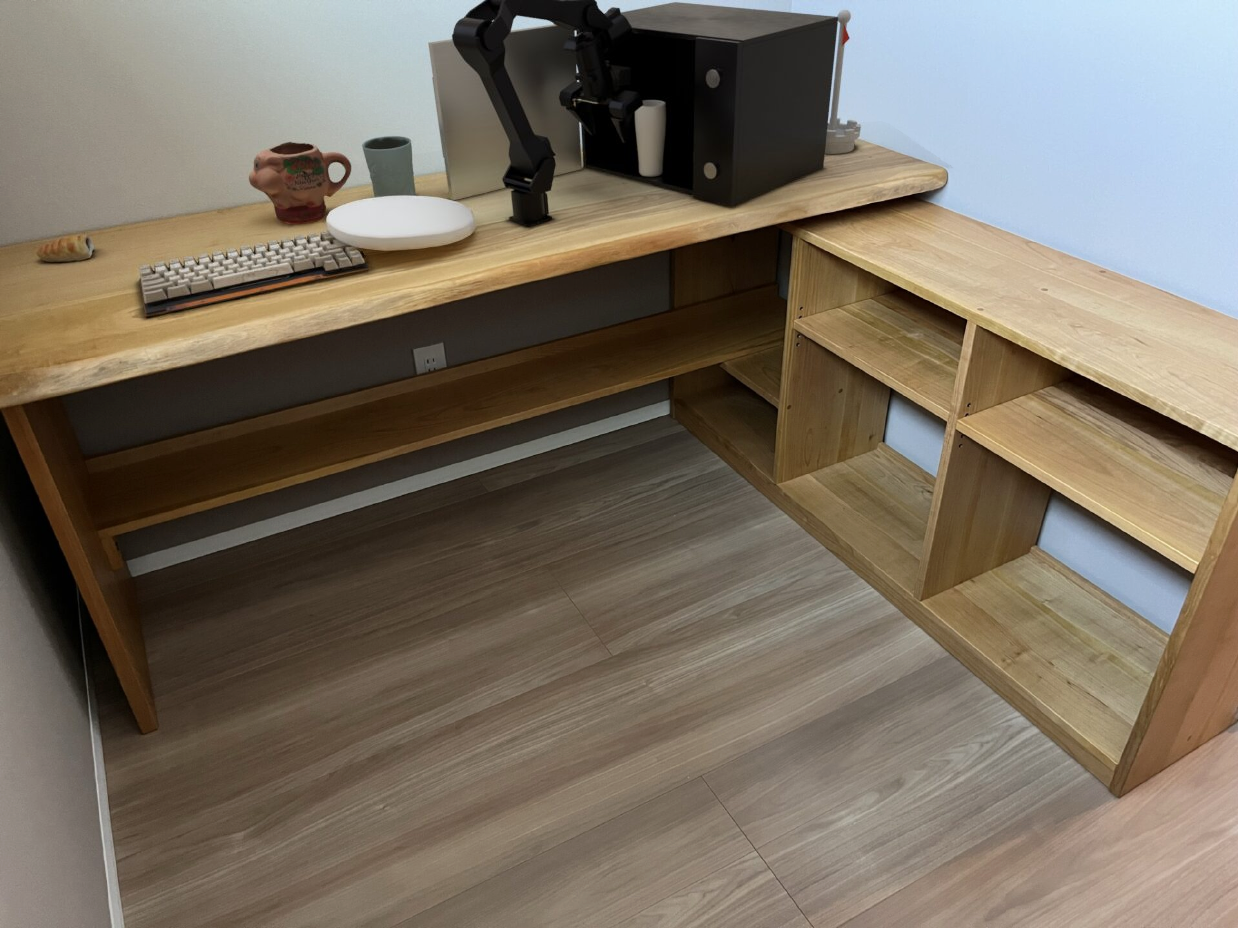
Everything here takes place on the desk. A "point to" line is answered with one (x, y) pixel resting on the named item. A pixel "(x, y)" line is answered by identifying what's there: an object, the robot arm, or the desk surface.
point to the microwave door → (473, 123)
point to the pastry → (67, 249)
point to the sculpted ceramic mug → (297, 180)
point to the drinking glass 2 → (651, 137)
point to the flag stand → (838, 133)
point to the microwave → (723, 98)
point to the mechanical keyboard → (245, 271)
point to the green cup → (390, 165)
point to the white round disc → (401, 222)
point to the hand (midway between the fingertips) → (609, 138)
